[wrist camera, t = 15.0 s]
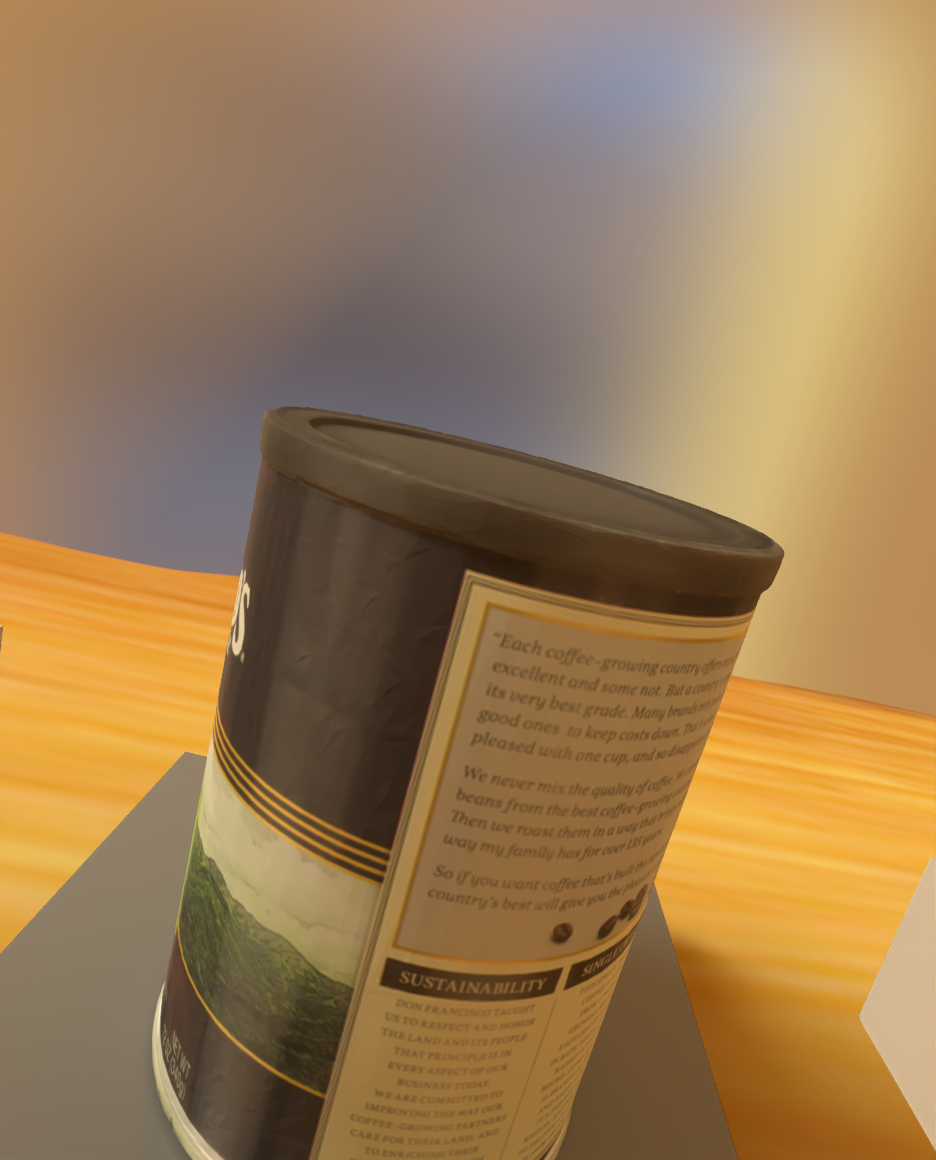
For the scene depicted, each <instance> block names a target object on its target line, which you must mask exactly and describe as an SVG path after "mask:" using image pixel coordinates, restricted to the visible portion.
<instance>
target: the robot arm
mask: <svg viewBox="0 0 936 1160" xmlns="http://www.w3.org/2000/svg"><path fill="white" fill-rule="evenodd" d="M2 630H3V626H1V625H0V650H1V640H2ZM859 1019H860V1021H861V1023H862V1024H863V1026H864V1028H865V1030H866V1031H867V1033H868V1035H869V1037H870V1038H871V1040H872V1042H873V1043H874V1045H875V1047H876V1049H877V1050H878V1052H879V1054H880V1056H881V1057H882V1059H883V1061H884V1062H885V1064H886V1066H887V1068H888V1069H889V1071H890V1073H891V1075H892V1076H893V1078H894V1080H895V1082H896V1083H897V1085H898V1087H899V1088H900V1090H901V1092H902V1094H903V1095H904V1097H905V1099H906V1101H907V1102H908V1104H909V1106H910V1107H911V1109H912V1111H913V1113H914V1114H915V1116H916V1118H917V1120H918V1121H919V1123H920V1125H921V1127H922V1128H923V1130H924V1132H925V1133H926V1135H927V1137H928V1139H929V1140H930V1142H931V1144H932V1146H933V1147H934V1149H935V1151H936V858H932V857H931V858H930V860H929V862H928V865H927V867H926V869H925V871H924V873H923V876H922V878H921V880H920V882H919V884H918V887H917V889H916V891H915V893H914V896H913V898H912V900H911V902H910V904H909V907H908V909H907V911H906V913H905V915H904V918H903V920H902V922H901V924H900V926H899V929H898V931H897V933H896V935H895V937H894V940H893V942H892V944H891V946H890V948H889V951H888V953H887V955H886V957H885V959H884V962H883V964H882V966H881V968H880V970H879V973H878V975H877V977H876V979H875V981H874V984H873V986H872V988H871V990H870V992H869V995H868V997H867V999H866V1001H865V1003H864V1006H863V1008H862V1010H861V1012H860V1014H859Z"/></svg>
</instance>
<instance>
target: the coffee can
mask: <svg viewBox="0 0 936 1160" xmlns="http://www.w3.org/2000/svg"><path fill="white" fill-rule="evenodd" d="M259 445H260V446H259V447H260V450H261V453H262V462H261V467H260V472H259V477H258V482H257V489H256V495H255V499H254V505H253V512H252V516H251V522H250V528H249V533H248V538H247V543H246V549H245V554H244V564H243V568H242V572H241V576H240V581H239V587H238V593H237V598H236V603H235V608H234V613H233V618H232V624H231V631H230V636H229V640H228V645H227V650H226V656H225V662H224V668H223V673H222V679H221V684H220V690H219V696H218V702H217V708H216V713H215V719H214V725H213V730H212V735H211V740H210V746H209V751H208V756H207V761H206V767H205V772H204V777H203V782H202V788H201V793H200V799H199V804H198V810H197V815H196V821H195V827H194V832H193V838H192V843H191V849H190V854H189V859H188V865H187V870H186V876H185V881H184V886H183V890H182V896H181V902H180V907H179V911H178V915H177V921H176V926H175V933H174V938H173V942H172V948H171V952H170V956H169V961H168V969H167V974H166V978H165V982H164V985H163V987H162V990H161V993H160V996H159V999H158V1003H157V1008H156V1013H155V1018H154V1023H153V1034H152V1058H153V1071H154V1077H155V1081H156V1086H157V1093H158V1096H159V1099H160V1102H161V1105H162V1108H163V1111H164V1113H165V1115H166V1117H167V1119H168V1121H169V1123H170V1125H171V1127H172V1129H173V1131H174V1133H175V1135H176V1136H177V1138H178V1140H179V1142H180V1144H181V1145H182V1147H183V1148H184V1149H185V1151H186V1152H187V1154H188V1155H189V1157H190V1158H191V1159H192V1160H554V1159H555V1158H556V1156H557V1155H558V1152H559V1150H560V1147H561V1144H562V1142H563V1139H564V1137H565V1134H566V1130H567V1127H568V1124H569V1120H570V1116H571V1109H572V1105H573V1101H574V1097H575V1094H576V1092H577V1089H578V1086H579V1084H580V1081H581V1078H582V1076H583V1073H584V1070H585V1068H586V1065H587V1062H588V1059H589V1057H590V1054H591V1051H592V1049H593V1046H594V1043H595V1041H596V1038H597V1035H598V1033H599V1030H600V1027H601V1024H602V1022H603V1019H604V1016H605V1014H606V1011H607V1008H608V1005H609V1003H610V1000H611V997H612V994H613V992H614V989H615V986H616V983H617V980H618V978H619V975H620V972H621V970H622V967H623V964H624V962H625V959H626V956H627V954H628V951H629V948H630V946H631V943H632V940H633V938H634V935H635V932H636V929H637V927H638V925H639V922H640V920H641V917H642V915H643V912H644V910H645V907H646V904H647V900H648V897H649V893H650V891H651V888H652V886H653V883H654V880H655V878H656V875H657V872H658V869H659V867H660V864H661V861H662V859H663V856H664V853H665V850H666V848H667V845H668V842H669V840H670V837H671V834H672V832H673V829H674V827H675V824H676V821H677V819H678V816H679V813H680V811H681V808H682V805H683V802H684V800H685V797H686V794H687V792H688V789H689V786H690V783H691V781H692V778H693V775H694V772H695V770H696V767H697V764H698V762H699V759H700V756H701V754H702V751H703V749H704V747H705V744H706V741H707V738H708V736H709V733H710V730H711V727H712V725H713V722H714V719H715V716H716V714H717V711H718V708H719V705H720V703H721V700H722V697H723V694H724V692H725V689H726V686H727V683H728V681H729V678H730V675H731V673H732V670H733V668H734V665H735V662H736V660H737V657H738V655H739V652H740V649H741V646H742V644H743V641H744V638H745V636H746V633H747V630H748V627H749V625H750V622H751V619H752V617H753V614H754V611H755V608H756V605H757V602H758V600H759V597H760V595H761V594H762V592H764V591H765V590H767V589H768V588H769V587H770V586H771V585H772V583H773V581H774V578H775V576H776V574H777V572H778V570H779V568H780V565H781V562H782V559H783V557H784V551H783V549H782V548H781V547H780V546H779V545H778V544H777V543H776V542H774V541H773V540H772V539H771V538H769V537H768V536H767V535H765V534H764V533H761V532H759V531H757V530H755V529H753V528H751V527H749V526H747V525H745V524H742V523H740V522H738V521H735V520H733V519H730V518H728V517H725V516H722V515H720V514H717V513H715V512H713V511H710V510H708V509H704V508H701V507H699V506H696V505H694V504H691V503H688V502H685V501H682V500H679V499H676V498H673V497H671V496H668V495H664V494H661V493H658V492H655V491H653V490H650V489H647V488H644V487H641V486H637V485H634V484H631V483H628V482H625V481H621V480H617V479H614V478H611V477H608V476H604V475H601V474H598V473H595V472H591V471H588V470H584V469H580V468H577V467H573V466H570V465H567V464H563V463H559V462H555V461H551V460H548V459H545V458H541V457H536V456H532V455H530V454H527V453H523V452H520V451H516V450H512V449H508V448H504V447H500V446H495V445H492V444H487V443H483V442H478V441H475V440H471V439H467V438H463V437H459V436H455V435H450V434H444V433H441V432H436V431H431V430H428V429H425V428H421V427H416V426H411V425H406V424H401V423H397V422H391V421H384V420H380V419H377V418H371V417H365V416H361V415H354V414H348V413H342V412H335V411H328V410H322V409H315V408H307V407H306V408H301V407H281V408H277V409H270V410H268V411H266V412H265V414H264V416H263V421H262V429H261V436H260V444H259Z"/></svg>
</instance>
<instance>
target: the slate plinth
mask: <svg viewBox="0 0 936 1160" xmlns="http://www.w3.org/2000/svg"><path fill="white" fill-rule="evenodd" d="M206 761H207V757H205V756H201V755H197V754H193V753H189V752H185V753H184V754H183V755H182V756H181V757H180V758H179V759H178V761H177V762H176V763H175V764H174V765H173V766H172V767H171V768H170V769H169V770H168V772H167V773H166V774H165V775H164V776H163V777H162V778H161V779H160V780H159V781H158V782H157V784H156V785H155V786H154V787H153V788H152V789H151V790H150V791H149V792H148V793H147V794H146V796H145V797H144V798H143V799H142V800H141V801H140V802H139V803H138V804H137V805H136V806H135V808H134V809H133V810H132V811H131V812H130V813H129V814H128V815H127V816H126V817H125V818H124V820H123V821H122V822H121V823H120V824H119V825H118V826H117V827H116V828H115V829H114V830H113V832H112V833H111V834H110V835H109V836H108V837H107V838H106V839H105V840H104V841H103V842H102V844H101V845H100V846H99V847H98V848H97V849H96V850H95V851H94V852H93V853H92V854H91V856H90V857H89V858H88V859H87V860H86V861H85V862H84V863H83V864H82V865H81V866H80V868H79V869H78V870H77V871H76V872H75V873H74V874H73V875H72V876H71V877H70V878H69V880H68V881H67V882H66V883H65V884H64V885H63V886H62V887H61V888H60V889H59V890H58V892H57V893H56V894H55V895H54V896H53V897H52V898H51V899H50V900H49V901H48V903H47V904H46V905H45V906H44V907H43V908H42V909H41V910H40V911H39V912H38V913H37V915H36V916H35V917H34V918H33V919H32V920H31V921H30V922H29V923H28V924H27V925H26V927H25V928H24V929H23V930H22V931H21V932H20V933H19V934H18V935H17V936H16V937H15V939H14V940H13V941H12V942H11V943H10V944H9V945H8V946H7V947H6V948H5V949H4V951H3V952H2V953H1V954H0V1160H192V1159H191V1158H190V1157H189V1155H188V1154H187V1152H186V1151H185V1149H184V1148H183V1147H182V1145H181V1144H180V1142H179V1140H178V1138H177V1136H176V1135H175V1133H174V1131H173V1129H172V1127H171V1125H170V1123H169V1121H168V1119H167V1117H166V1115H165V1113H164V1111H163V1108H162V1105H161V1102H160V1099H159V1096H158V1093H157V1086H156V1081H155V1077H154V1071H153V1058H152V1034H153V1023H154V1018H155V1013H156V1008H157V1003H158V999H159V996H160V993H161V990H162V987H163V985H164V982H165V978H166V974H167V969H168V961H169V956H170V952H171V948H172V942H173V938H174V933H175V926H176V921H177V915H178V911H179V907H180V902H181V896H182V890H183V886H184V881H185V876H186V870H187V865H188V859H189V854H190V849H191V843H192V838H193V832H194V827H195V821H196V815H197V810H198V804H199V799H200V793H201V788H202V782H203V777H204V772H205V767H206ZM554 1160H738V1158H737V1155H736V1151H735V1148H734V1145H733V1142H732V1138H731V1135H730V1132H729V1128H728V1125H727V1122H726V1118H725V1115H724V1112H723V1109H722V1105H721V1102H720V1099H719V1095H718V1092H717V1089H716V1086H715V1082H714V1079H713V1076H712V1072H711V1069H710V1066H709V1062H708V1059H707V1056H706V1053H705V1049H704V1046H703V1043H702V1039H701V1036H700V1033H699V1030H698V1026H697V1023H696V1020H695V1016H694V1013H693V1010H692V1006H691V1003H690V1000H689V997H688V993H687V990H686V987H685V983H684V980H683V977H682V974H681V970H680V967H679V964H678V960H677V957H676V954H675V950H674V947H673V944H672V941H671V937H670V934H669V931H668V927H667V924H666V921H665V918H664V914H663V911H662V908H661V904H660V901H659V898H658V895H657V891H656V888H655V885H654V883H653V886H652V888H651V891H650V893H649V897H648V900H647V904H646V907H645V910H644V912H643V915H642V917H641V920H640V922H639V925H638V927H637V929H636V932H635V935H634V938H633V940H632V943H631V946H630V948H629V951H628V954H627V956H626V959H625V962H624V964H623V967H622V970H621V972H620V975H619V978H618V980H617V983H616V986H615V989H614V992H613V994H612V997H611V1000H610V1003H609V1005H608V1008H607V1011H606V1014H605V1016H604V1019H603V1022H602V1024H601V1027H600V1030H599V1033H598V1035H597V1038H596V1041H595V1043H594V1046H593V1049H592V1051H591V1054H590V1057H589V1059H588V1062H587V1065H586V1068H585V1070H584V1073H583V1076H582V1078H581V1081H580V1084H579V1086H578V1089H577V1092H576V1094H575V1097H574V1101H573V1105H572V1109H571V1116H570V1120H569V1124H568V1127H567V1130H566V1134H565V1137H564V1139H563V1142H562V1144H561V1147H560V1150H559V1152H558V1155H557V1156H556V1158H555V1159H554Z"/></svg>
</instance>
